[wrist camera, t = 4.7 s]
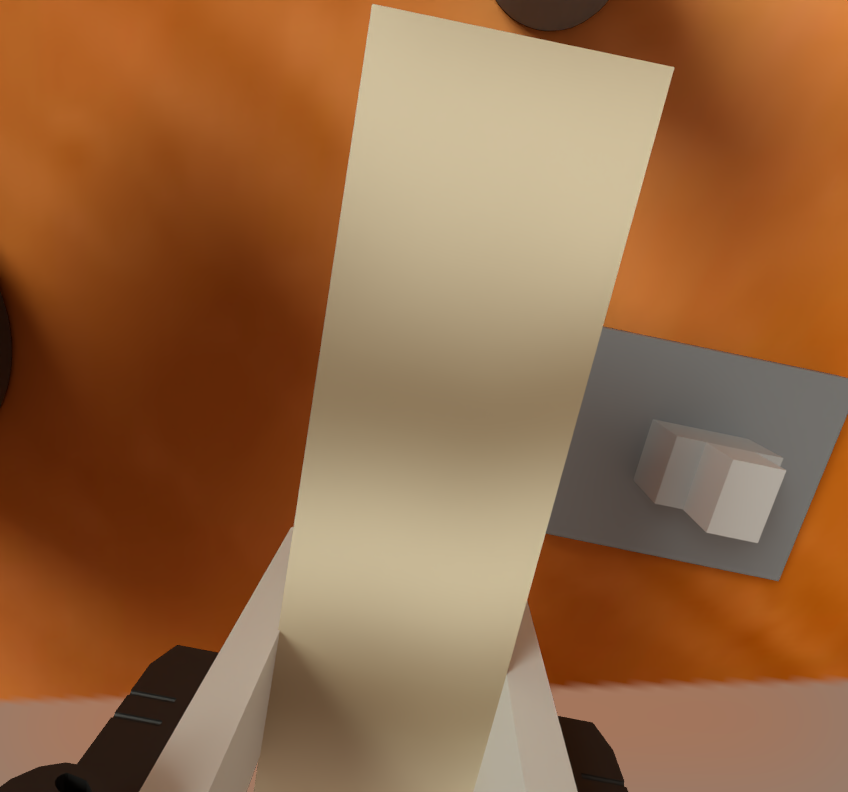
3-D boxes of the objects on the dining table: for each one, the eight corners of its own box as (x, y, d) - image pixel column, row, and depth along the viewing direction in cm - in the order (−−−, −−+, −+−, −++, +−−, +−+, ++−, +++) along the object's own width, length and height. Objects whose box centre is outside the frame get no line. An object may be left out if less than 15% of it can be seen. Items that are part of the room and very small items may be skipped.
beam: (398, 878, 17) (381, 1128, 12) (276, 856, 17) (208, 1097, 12) (576, 154, 12) (674, 66, 7) (401, 118, 12) (372, 4, 7)
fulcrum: (529, 516, 26) (553, 586, 20) (582, 322, 24) (627, 337, 18) (759, 564, 26) (849, 646, 20) (835, 375, 24) (961, 407, 18)
